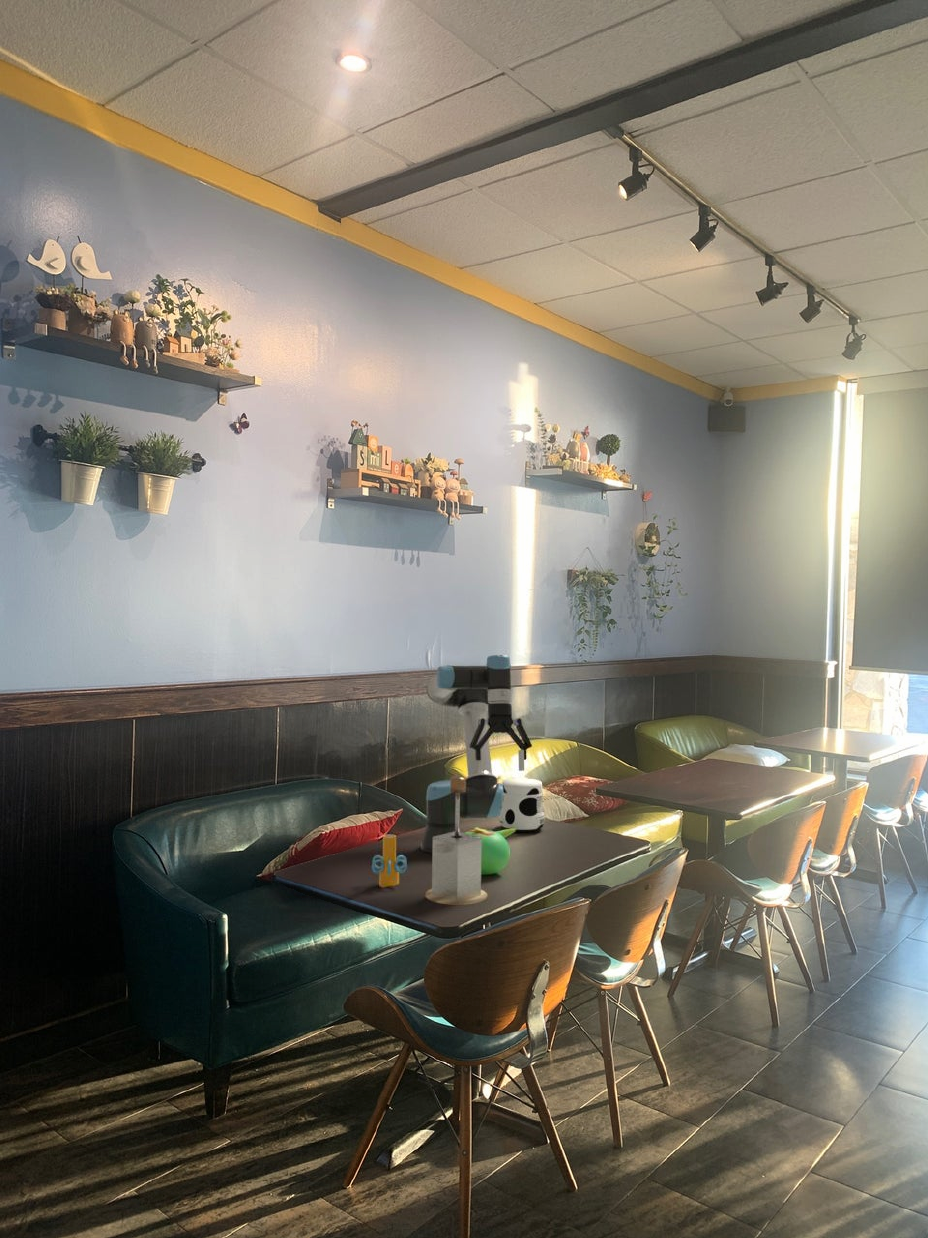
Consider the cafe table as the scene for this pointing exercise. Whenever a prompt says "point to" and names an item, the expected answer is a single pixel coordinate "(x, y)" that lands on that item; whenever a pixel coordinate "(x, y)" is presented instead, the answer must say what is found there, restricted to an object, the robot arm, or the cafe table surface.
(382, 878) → the cylinder
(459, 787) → the plunger
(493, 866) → the toy bird
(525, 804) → the milk container
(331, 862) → the cafe table surface
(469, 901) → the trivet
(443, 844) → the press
